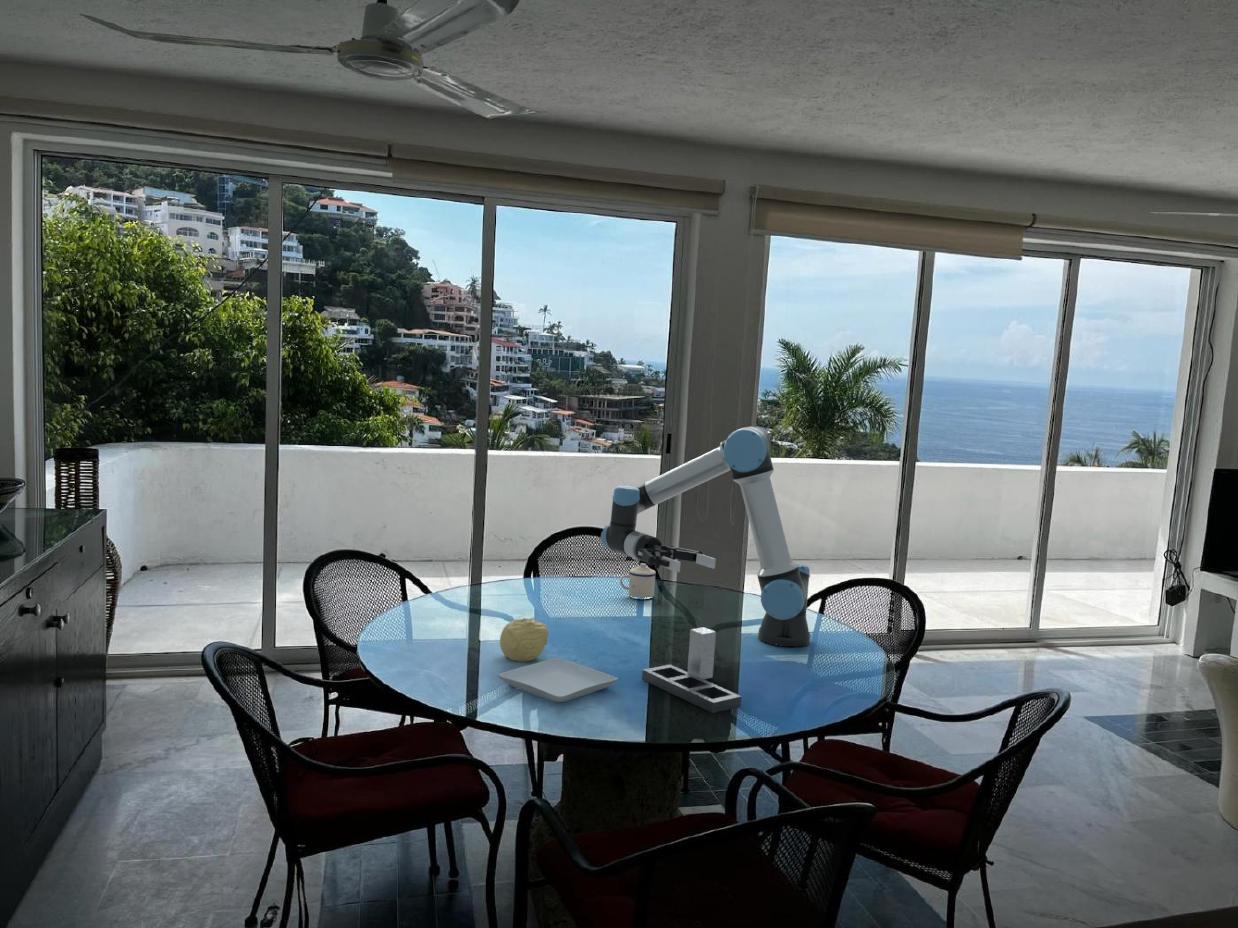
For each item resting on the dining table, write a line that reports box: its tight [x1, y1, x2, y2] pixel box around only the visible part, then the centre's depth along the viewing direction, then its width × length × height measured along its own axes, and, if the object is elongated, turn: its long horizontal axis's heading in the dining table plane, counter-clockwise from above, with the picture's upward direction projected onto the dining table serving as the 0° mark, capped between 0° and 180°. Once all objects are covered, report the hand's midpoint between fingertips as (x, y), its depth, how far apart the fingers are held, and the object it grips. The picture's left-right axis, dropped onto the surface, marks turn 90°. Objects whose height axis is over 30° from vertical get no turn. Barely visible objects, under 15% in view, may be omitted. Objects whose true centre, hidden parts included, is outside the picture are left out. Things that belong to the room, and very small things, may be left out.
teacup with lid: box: [619, 562, 657, 598], centre depth 321 cm, size 12×9×12 cm
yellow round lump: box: [499, 617, 549, 663], centre depth 249 cm, size 12×12×11 cm
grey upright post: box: [686, 626, 717, 680], centre depth 243 cm, size 5×5×12 cm
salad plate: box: [497, 657, 619, 703], centre depth 229 cm, size 21×21×3 cm
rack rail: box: [641, 664, 742, 714], centre depth 230 cm, size 9×26×2 cm, turn 37°
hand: (697, 565), depth 254 cm, fingers open, 13 cm apart
